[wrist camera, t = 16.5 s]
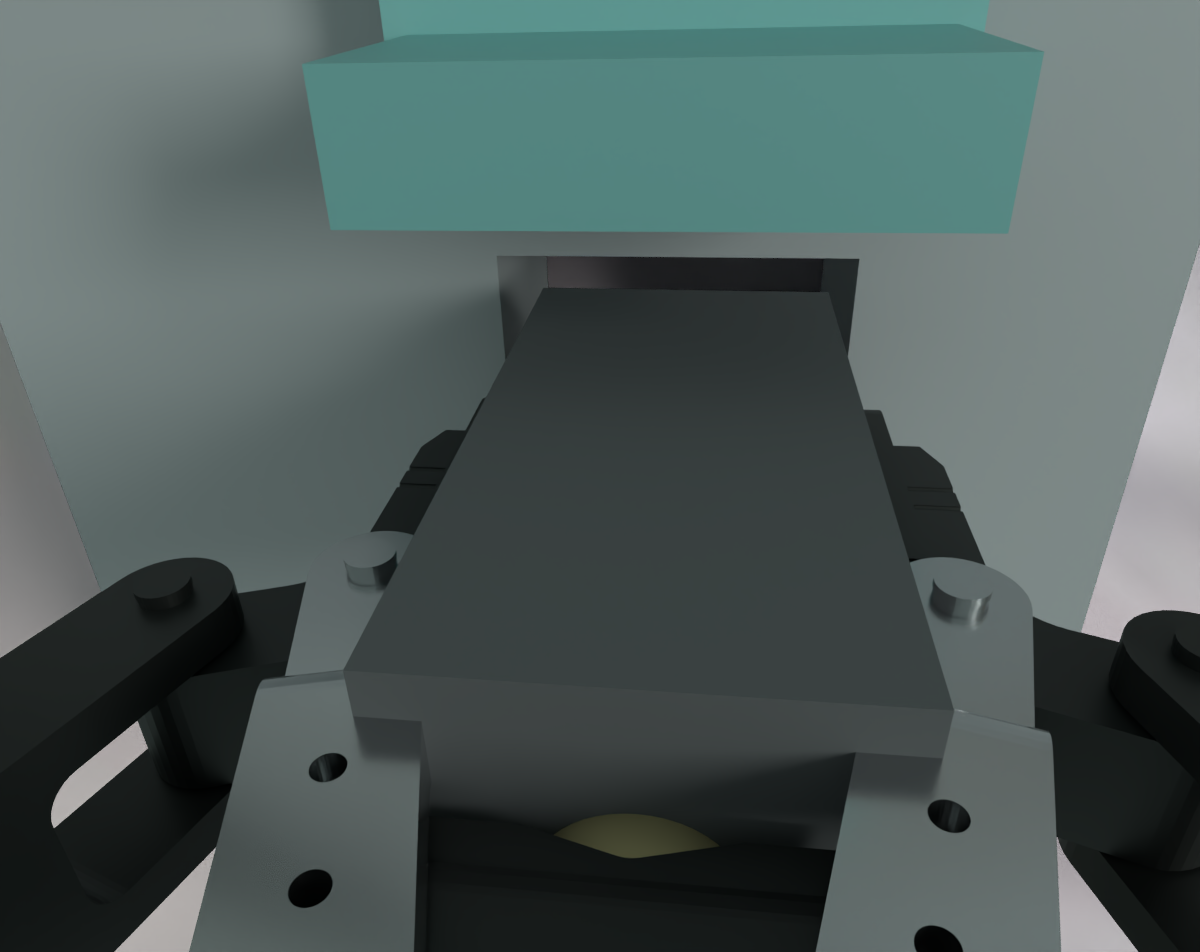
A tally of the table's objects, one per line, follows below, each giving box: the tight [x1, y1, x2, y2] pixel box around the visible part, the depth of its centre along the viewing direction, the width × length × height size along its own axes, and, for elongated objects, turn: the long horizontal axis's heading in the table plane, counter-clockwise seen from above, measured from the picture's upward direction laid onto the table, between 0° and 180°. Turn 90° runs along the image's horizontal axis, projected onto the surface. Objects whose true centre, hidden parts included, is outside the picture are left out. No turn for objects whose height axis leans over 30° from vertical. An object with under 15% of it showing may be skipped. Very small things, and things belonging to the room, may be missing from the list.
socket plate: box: [0, 0, 1200, 633], centre depth 16 cm, size 16×18×4 cm
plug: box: [343, 288, 954, 858], centre depth 10 cm, size 4×4×10 cm
